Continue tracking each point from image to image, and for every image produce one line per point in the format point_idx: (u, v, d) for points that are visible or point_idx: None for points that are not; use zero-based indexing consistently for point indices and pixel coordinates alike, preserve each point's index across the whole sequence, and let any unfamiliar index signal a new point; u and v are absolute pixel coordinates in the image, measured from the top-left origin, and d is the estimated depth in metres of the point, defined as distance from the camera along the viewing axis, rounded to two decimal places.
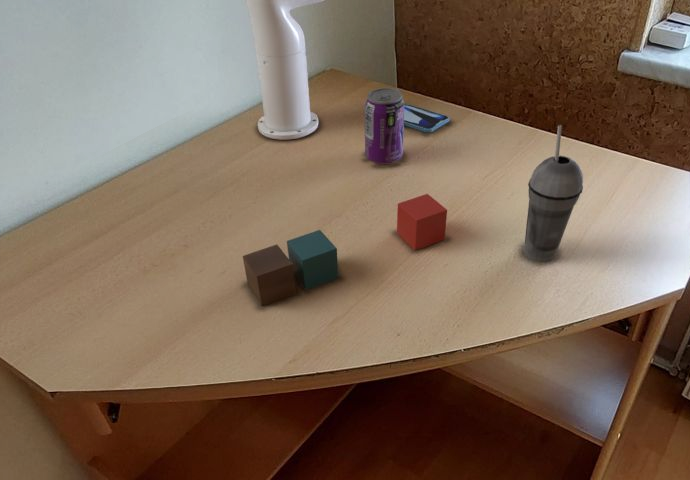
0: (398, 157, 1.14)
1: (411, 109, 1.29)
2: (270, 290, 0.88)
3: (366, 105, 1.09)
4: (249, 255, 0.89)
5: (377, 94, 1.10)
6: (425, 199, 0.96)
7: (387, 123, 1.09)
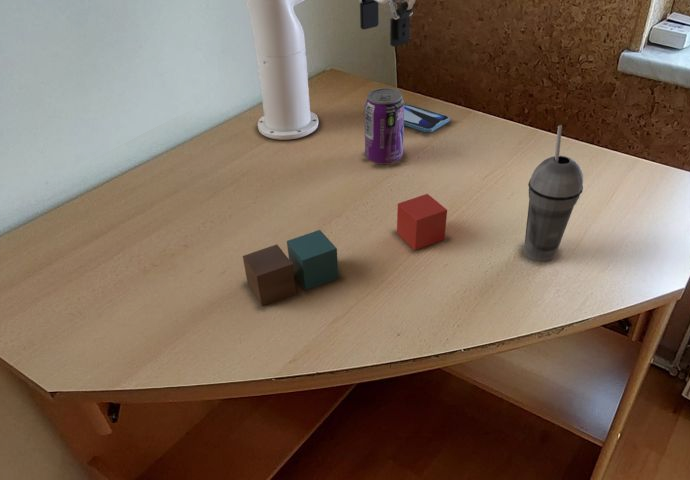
0: (398, 157, 1.14)
1: (411, 109, 1.29)
2: (270, 290, 0.88)
3: (366, 105, 1.09)
4: (249, 255, 0.89)
5: (377, 94, 1.10)
6: (425, 199, 0.96)
7: (387, 123, 1.09)
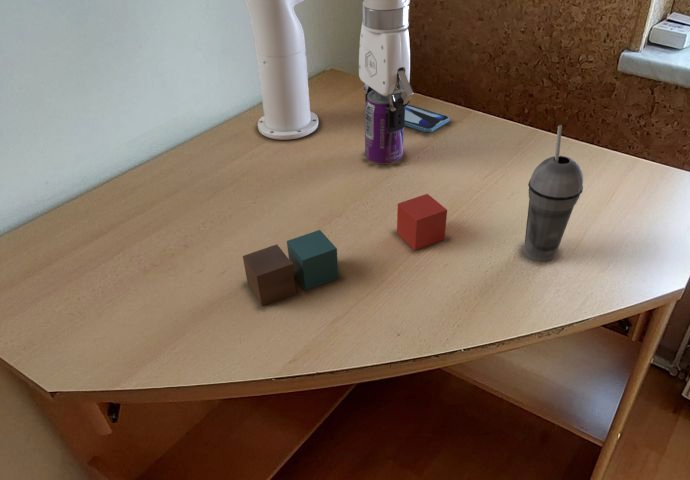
0: (398, 157, 1.14)
1: (411, 109, 1.29)
2: (270, 290, 0.88)
3: (366, 105, 1.09)
4: (249, 255, 0.89)
5: (377, 94, 1.10)
6: (425, 199, 0.96)
7: (387, 123, 1.09)
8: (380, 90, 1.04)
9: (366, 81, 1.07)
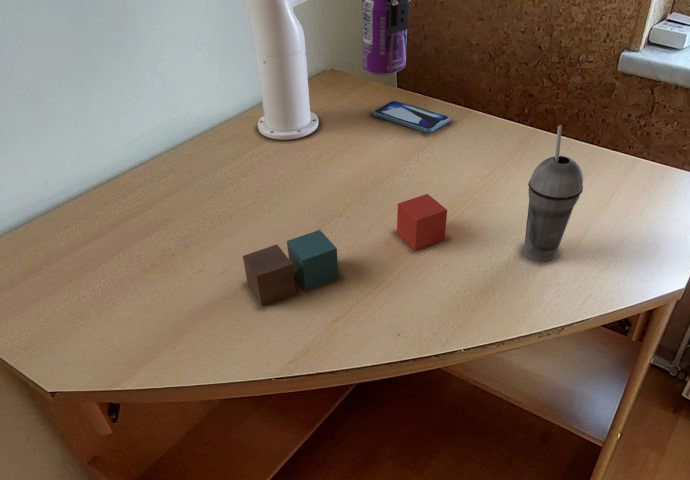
0: (401, 67, 1.00)
1: (411, 109, 1.29)
2: (270, 290, 0.88)
3: (364, 2, 0.95)
4: (249, 255, 0.89)
5: None
6: (425, 199, 0.96)
7: (388, 22, 0.95)
8: None
9: None
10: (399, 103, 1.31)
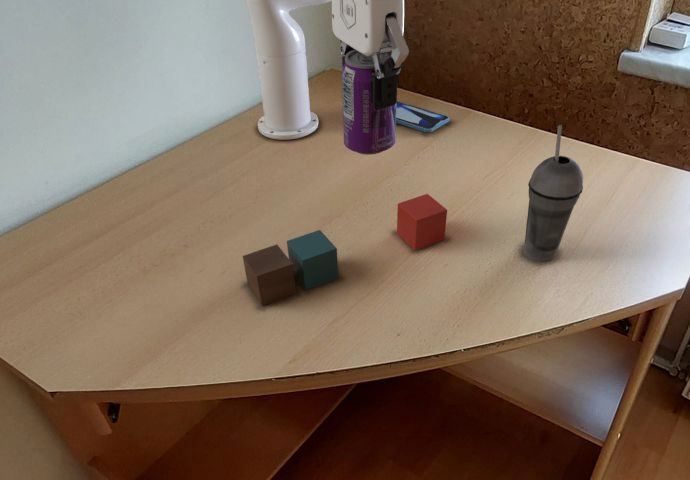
0: (389, 145, 0.83)
1: (411, 109, 1.29)
2: (270, 290, 0.88)
3: (343, 71, 0.78)
4: (249, 255, 0.89)
5: (358, 55, 0.78)
6: (425, 199, 0.96)
7: None
8: (361, 47, 0.72)
9: (342, 37, 0.75)
10: (399, 103, 1.31)
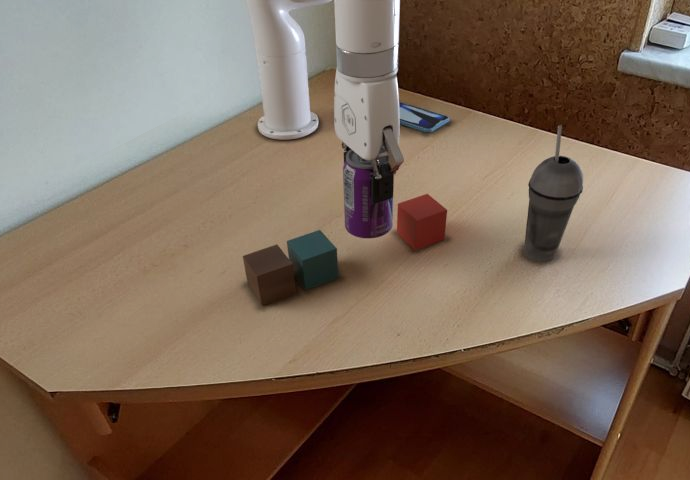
0: (386, 230, 0.90)
1: (411, 109, 1.29)
2: (270, 290, 0.88)
3: (345, 168, 0.85)
4: (249, 255, 0.89)
5: None
6: (425, 199, 0.96)
7: None
8: (361, 153, 0.80)
9: (343, 139, 0.83)
10: (399, 103, 1.31)
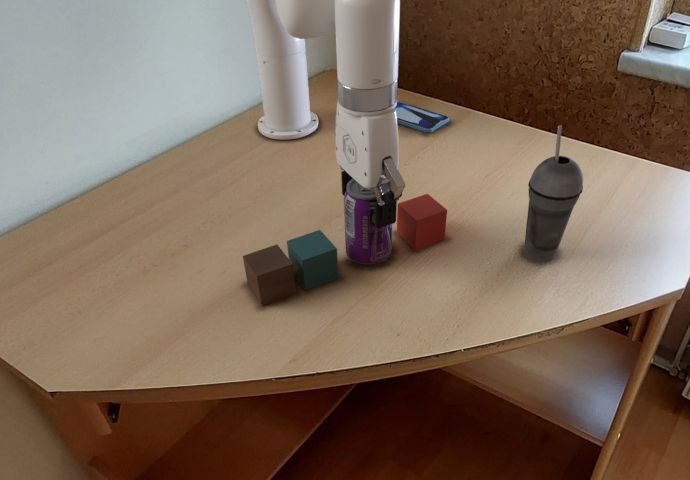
0: (386, 256, 0.94)
1: (411, 109, 1.29)
2: (270, 290, 0.88)
3: (345, 198, 0.88)
4: (249, 255, 0.89)
5: None
6: (425, 199, 0.96)
7: (371, 220, 0.88)
8: (361, 182, 0.83)
9: (344, 167, 0.86)
10: (399, 103, 1.31)
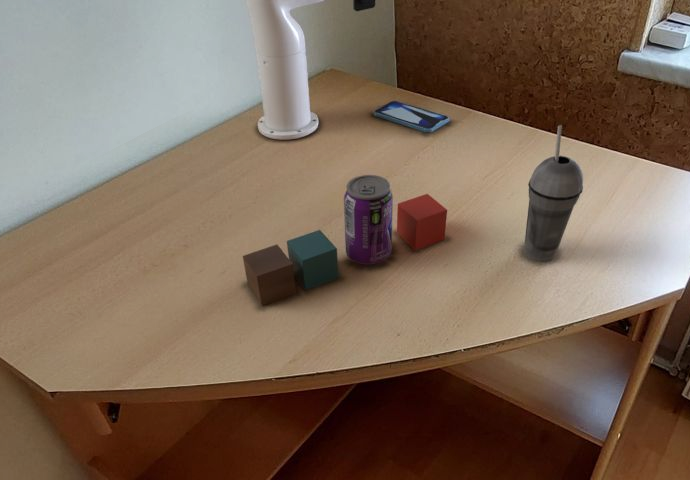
0: (386, 256, 0.94)
1: (411, 109, 1.29)
2: (270, 290, 0.88)
3: (345, 198, 0.88)
4: (249, 255, 0.89)
5: (359, 184, 0.89)
6: (425, 199, 0.96)
7: (371, 220, 0.88)
8: None
9: None
10: (399, 103, 1.31)
